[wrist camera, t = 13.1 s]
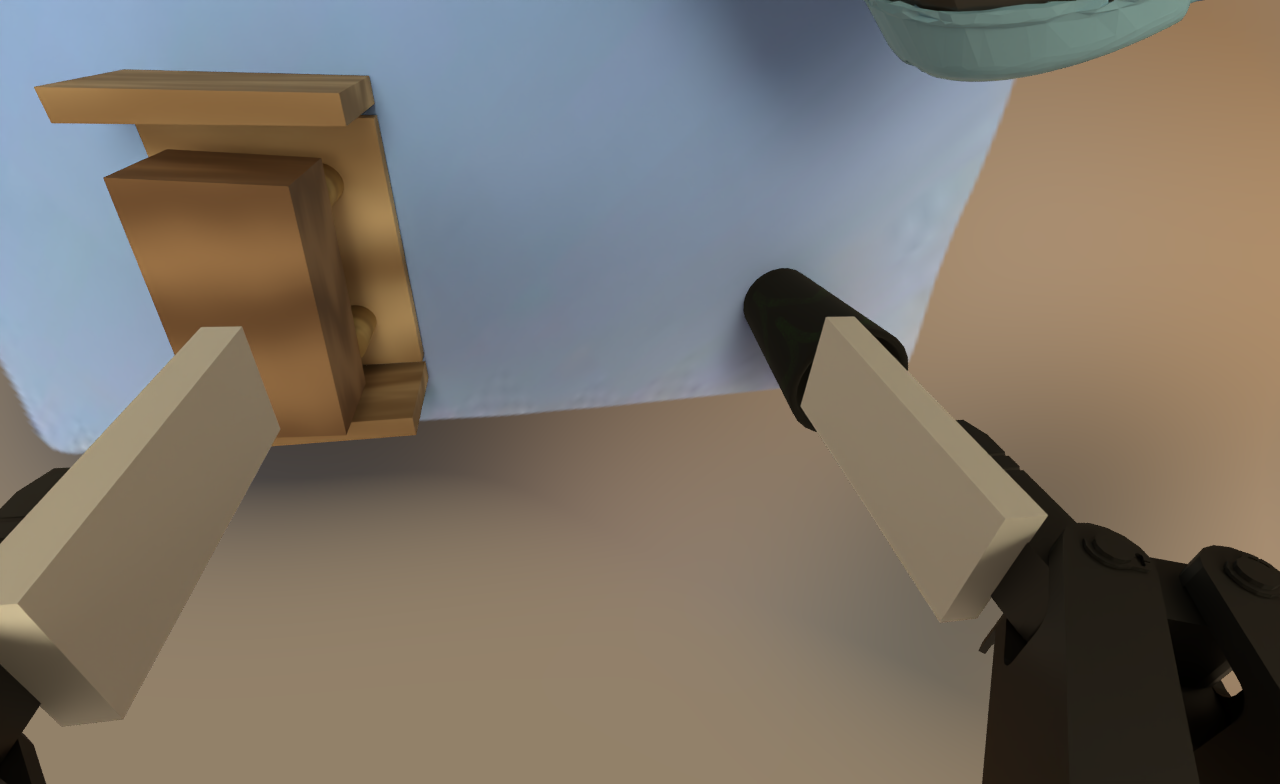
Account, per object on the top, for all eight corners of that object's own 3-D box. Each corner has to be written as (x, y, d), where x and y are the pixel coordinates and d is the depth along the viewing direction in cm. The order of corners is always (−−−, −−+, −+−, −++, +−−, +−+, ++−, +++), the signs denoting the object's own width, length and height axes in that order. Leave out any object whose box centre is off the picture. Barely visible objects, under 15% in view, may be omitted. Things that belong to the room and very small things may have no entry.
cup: (734, 354, 47) (792, 447, 38) (725, 269, 43) (788, 349, 33) (823, 330, 48) (903, 416, 38) (824, 244, 43) (915, 316, 33)
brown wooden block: (365, 383, 38) (346, 435, 33) (246, 385, 36) (209, 440, 32) (321, 157, 30) (288, 186, 25) (166, 149, 28) (103, 177, 24)
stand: (123, 69, 30) (33, 87, 24) (369, 75, 32) (338, 93, 26) (253, 388, 41) (212, 450, 35) (428, 377, 43) (416, 434, 38)
